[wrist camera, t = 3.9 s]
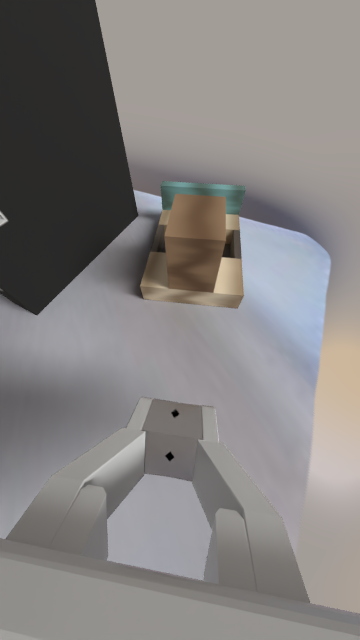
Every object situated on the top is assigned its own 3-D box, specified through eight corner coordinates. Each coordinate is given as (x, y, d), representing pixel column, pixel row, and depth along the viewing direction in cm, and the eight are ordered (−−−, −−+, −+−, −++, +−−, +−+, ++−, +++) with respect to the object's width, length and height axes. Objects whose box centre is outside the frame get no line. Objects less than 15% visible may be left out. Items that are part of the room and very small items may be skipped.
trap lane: (143, 299, 28) (133, 263, 22) (165, 220, 38) (162, 181, 32) (237, 308, 27) (253, 274, 21) (234, 225, 37) (244, 185, 31)
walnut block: (168, 288, 25) (164, 236, 18) (176, 249, 29) (175, 193, 22) (213, 292, 25) (225, 240, 18) (215, 252, 29) (225, 196, 22)
